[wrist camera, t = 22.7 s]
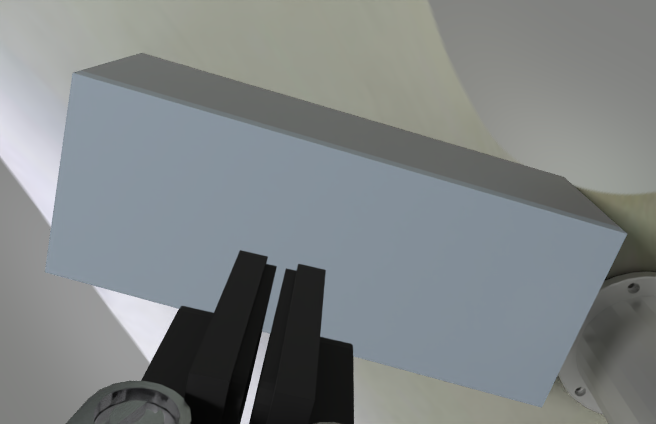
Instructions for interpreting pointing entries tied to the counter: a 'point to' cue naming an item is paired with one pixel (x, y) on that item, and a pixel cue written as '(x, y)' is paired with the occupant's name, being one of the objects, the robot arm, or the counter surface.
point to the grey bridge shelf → (349, 132)
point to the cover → (323, 237)
